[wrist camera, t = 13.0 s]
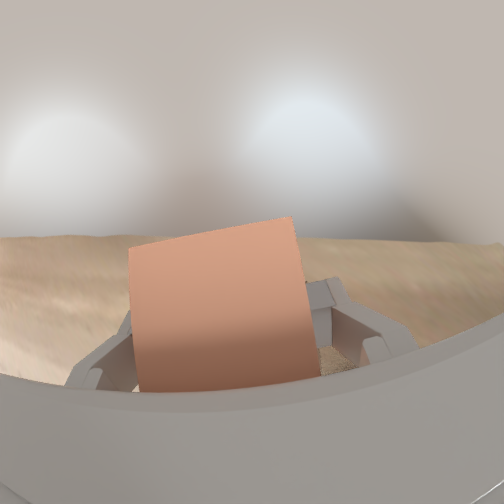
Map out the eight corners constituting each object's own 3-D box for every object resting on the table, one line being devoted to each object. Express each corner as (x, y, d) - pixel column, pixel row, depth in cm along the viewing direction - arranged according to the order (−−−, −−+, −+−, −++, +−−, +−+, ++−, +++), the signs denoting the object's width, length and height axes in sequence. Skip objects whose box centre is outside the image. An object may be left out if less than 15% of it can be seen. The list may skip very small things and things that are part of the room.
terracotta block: (220, 373, 16) (143, 412, 6) (210, 296, 17) (128, 248, 8) (301, 362, 16) (323, 398, 6) (288, 283, 17) (291, 216, 8)
